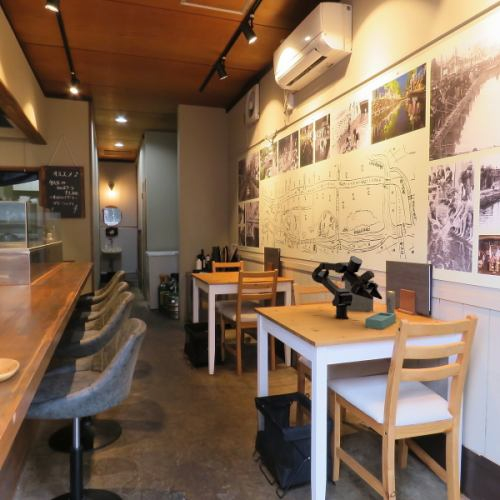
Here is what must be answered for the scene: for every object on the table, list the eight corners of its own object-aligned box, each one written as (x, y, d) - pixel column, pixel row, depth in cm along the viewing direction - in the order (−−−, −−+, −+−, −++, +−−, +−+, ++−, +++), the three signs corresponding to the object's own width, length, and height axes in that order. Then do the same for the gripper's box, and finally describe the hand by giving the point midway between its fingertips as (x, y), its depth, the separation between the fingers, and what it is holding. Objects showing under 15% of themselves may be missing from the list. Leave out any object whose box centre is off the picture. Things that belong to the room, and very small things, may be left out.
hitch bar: (380, 319, 210) (380, 311, 210) (395, 321, 206) (395, 313, 205) (365, 327, 194) (365, 318, 194) (382, 329, 190) (382, 321, 189)
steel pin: (385, 316, 217) (386, 290, 216) (393, 317, 217) (393, 290, 216) (387, 318, 213) (387, 291, 212) (395, 318, 213) (395, 292, 212)
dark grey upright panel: (344, 310, 234) (344, 275, 233) (344, 309, 238) (344, 275, 237) (373, 311, 230) (373, 276, 229) (372, 310, 234) (373, 275, 233)
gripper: (352, 265, 197) (377, 284, 187) (371, 267, 210) (395, 285, 200) (340, 283, 200) (364, 303, 191) (360, 284, 214) (382, 303, 204)
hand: (377, 298), depth 196 cm, fingers open, 9 cm apart
